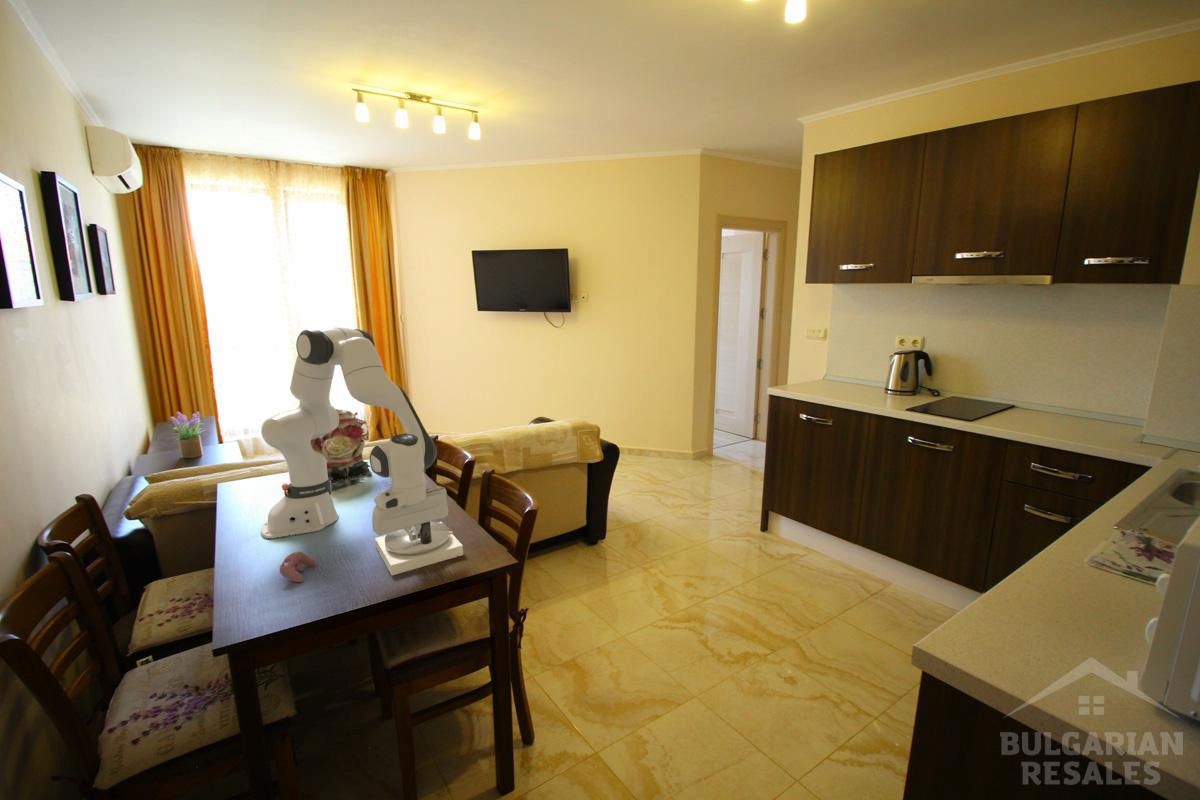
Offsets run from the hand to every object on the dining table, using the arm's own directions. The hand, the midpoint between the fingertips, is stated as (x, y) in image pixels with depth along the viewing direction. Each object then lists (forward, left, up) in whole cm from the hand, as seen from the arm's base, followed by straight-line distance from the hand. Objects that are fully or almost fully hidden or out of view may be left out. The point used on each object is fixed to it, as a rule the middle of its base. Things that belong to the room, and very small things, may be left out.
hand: (413, 539), depth 149 cm
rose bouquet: (-7, +88, -8) cm, 89 cm away
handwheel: (+3, +7, -4) cm, 8 cm away
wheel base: (+3, +7, -7) cm, 10 cm away
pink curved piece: (-28, +12, -8) cm, 31 cm away
